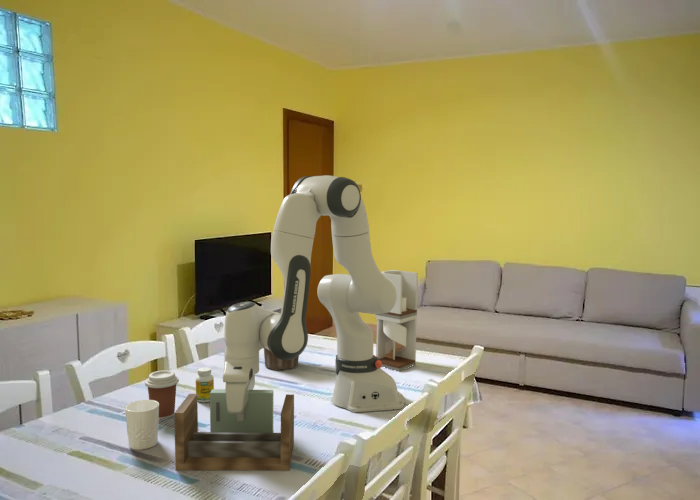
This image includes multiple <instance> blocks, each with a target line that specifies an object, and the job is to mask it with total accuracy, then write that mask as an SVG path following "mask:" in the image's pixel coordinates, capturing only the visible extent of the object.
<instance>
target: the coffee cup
mask: <svg viewBox="0 0 700 500" xmlns="http://www.w3.org/2000/svg"><path fill="white" fill-rule="evenodd" d="M179 382H180V379H179V377H178V376H176V373H175V372H174V371H172V370H157V371H153V372H151V373H150V374H149V375H148V378H146V380H145V381H144V385H145V387H147V393H148V400H154V401H157V402H158V403H159V421H160V420H161V421H162V420H167V419H171V418H173V417H175V416H174V413H175V412H176V396H177V384H179Z"/></svg>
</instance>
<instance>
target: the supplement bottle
mask: <svg viewBox="0 0 700 500" xmlns="http://www.w3.org/2000/svg"><path fill="white" fill-rule="evenodd" d="M214 381H215V380H214V375H213V374H212V368H211V367H200V368H198V369H197V376H196V377H195V394H197V403H210V392H211V390H212V389H215V388H214V387H215V382H214Z"/></svg>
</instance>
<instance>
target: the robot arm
mask: <svg viewBox="0 0 700 500" xmlns="http://www.w3.org/2000/svg"><path fill="white" fill-rule="evenodd" d="M365 206H366V205H365V203H364V201H363V199H362V194H361V191H360V187H359V185H358V184H357V183H356V181H354V180H352V179H351V178H349V177H345V176H335V175H329V174H328V175H327V174H326V175H325V174H324V175H314V176H313V175H307V176H306V175H305V176H302V177H301V178H299V179H297V181H295V183H294V185H293V186H292V188H291V190H290V194H288V195H286V196H285V197H284V198H283V200H282V202H281V204H280V207H279V209H278V211H277V212H278V213H277V216H276V218H275V221H274V226H273V230H272V234H271V239H270V255H271V258H272V260H273V262H274V263H275V265H276V266H277V267H278V269H279V271H280V272H281V274H282V278H283V283H284V284H283V285H284V287H283V294H282V295H283V296H282V301H281V309H280V312H278V311H273V310H269V309H266V308H264V307H262V306H260V305H258V304H256V302H253V301H241V302H238V303H235V304H232V305H231V306H230V307H228V308H227V310H226V313H225V318H224V334H223V335H224V337H223V338H224V342H225V350H224V368H223V373H222V382H223V383H225V388H224V389H225V392H226V405H227V410H228V413H230V414H237V420H238V421H243V420H244V418H245V412H244V408H245V406H246V404H247V401H248V393H249V390H254V389H255V384H256V383H255V382H256V377H255V376H256V374H258V373H259V372H260V351H261V350H262V349H263V350H264V348H267V349H268V350H269V351H271V352H272V353H273V354H274V355H275V356H276V357H277V358H278V359H281V360H291V359H294V358H296V357H298V356H299V357H300V355H301V354H302V353H303V352H304V350H305V349H306V347H307V345H308V342H309V341H308V340H309V334H308V333H309V332H308V327H307V311H308V304H309V303H308V301H309V294H310V284H311V274H312V273H311V271H312V270H311V269H312V267H311V263H312V262H311V259H312V252H313V246H314V239H315V235H316V227H317V222H318V220H319V219H320V218H321V216H323V217H326V216H329V218H330V220H331V222H330V224H331V225H330V227H331V230H330V231H331V238H332V239H331V240H332V247H333V256H334V260H335V261H336V262H337V263H338V264H339V265H340V266H341V267H343V268H344V269H345V270H346V271H347V273H348V274H345V273H335V274H327V275H324V276H323V277H322V278H321V279H320V281H319V283H318V285H317V291H316V292H317V297H318V300H319V302H320V303H321V304H322V305H323V306H324V307H325V308H326V310H327V311H328V312H329V315H330V316H331V318H332V321H333V323H334V326H335V327H334V328H335V331H336V345H337V346H336V348H337V349H336V350H337V351H336V353H337V354H336V355H335V359H334V361H335V362H334V363H335V365H334V367H335V374H336V375H335V382H334V388H333V389H334V390H333V393H332V396H331V403H332V404H333V405H335V406H337V407H339V408H343V409H346V410H348V411H349V412H353V413H363V412H365V413H366V412H377V411H378V412H379V411H390V410H391V411H393V409H394V410H401V409H403V408H404V407H405V402H406V401H405V396H404V395H403V393H401V392H400V391H399V390H398V386H397V383H396V381H395V379H394V378H393V377H392V375H390V374H388V373H387V372H386V371H384V370H383V369H382V368H383V367H382V362H381V361H380V359H379V358H378V356H377V355H376V354H375V355H374V340H375V339H374V332H373V329H372V328H371V327H370V325H368V324H367V323H366V322H365V321H364V320H363V319H362V318H361V315H360V313H362V314H370V315H375V314H382V313H388V312H389V311H391V310H392V308H393V307H394V305H395V303H396V299H397V293H396V289H395V287H394V285H393V284H392V282H390V281H389V280H388V279H387V278H386V277H385V276H384V275H383V274H382V273H381V272H382V271H381V270H380V268H379V267H378V265H377V263H376V262H375V259H374V256H373V252H372V244H371V236H370V226H369V225H370V224H369V219H368V214H367V210H366V207H365Z"/></svg>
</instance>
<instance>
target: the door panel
mask: <svg viewBox="0 0 700 500" xmlns="http://www.w3.org/2000/svg"><path fill="white" fill-rule="evenodd" d="M244 412H245V418H244V420H243V421H238V420H237V414H230V413H228V410H227V405H226V392H225V388H224V389H223V388H221V389H219V388H218V389H215V388H214V389H212V390H211V392H210V401H209V415H210V416H209V417H210V420H209V424H210V425H209V427H210V428H209V430H210V431H209V432H242V433H274V389H253V390H249V393H248V401H247V404H246V406H245V408H244Z"/></svg>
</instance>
